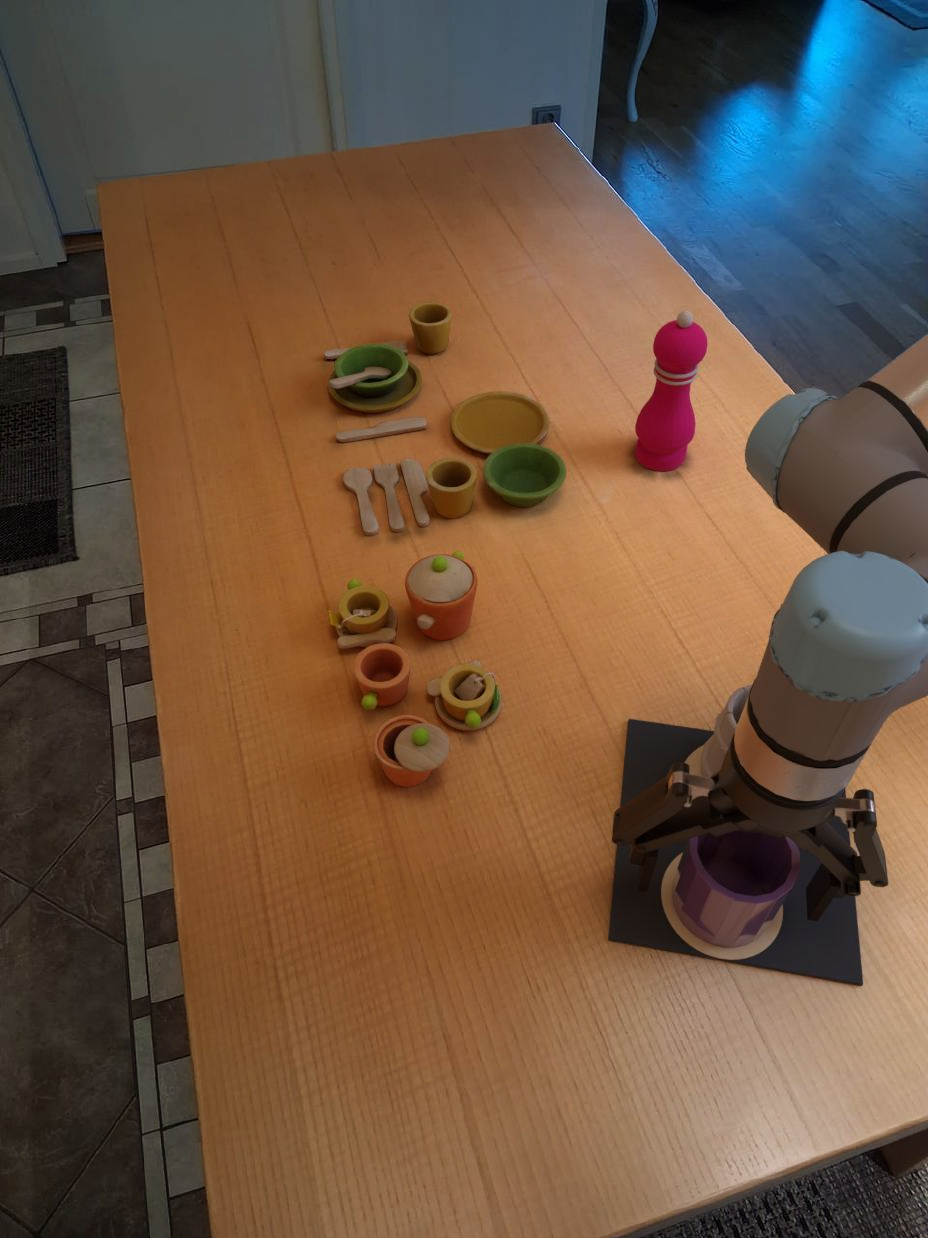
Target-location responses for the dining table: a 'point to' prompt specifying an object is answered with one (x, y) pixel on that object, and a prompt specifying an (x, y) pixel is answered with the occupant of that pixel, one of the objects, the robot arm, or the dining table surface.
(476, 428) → the tableware set
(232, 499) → the dining table surface
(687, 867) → the purple cup
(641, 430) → the pepper mill
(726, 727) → the mug
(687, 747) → the placemat
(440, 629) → the toy tea set
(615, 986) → the dining table surface
